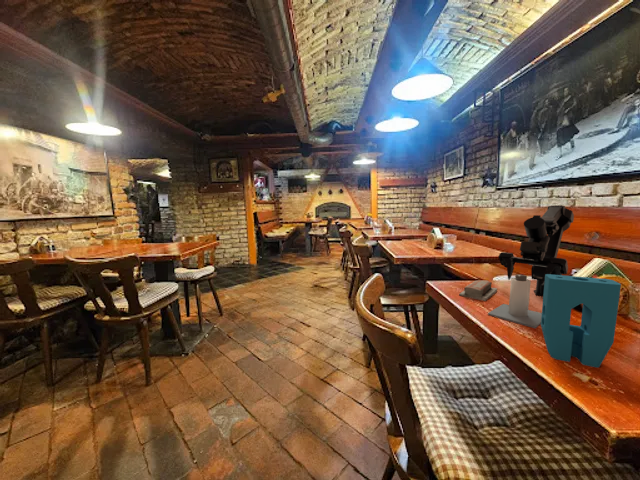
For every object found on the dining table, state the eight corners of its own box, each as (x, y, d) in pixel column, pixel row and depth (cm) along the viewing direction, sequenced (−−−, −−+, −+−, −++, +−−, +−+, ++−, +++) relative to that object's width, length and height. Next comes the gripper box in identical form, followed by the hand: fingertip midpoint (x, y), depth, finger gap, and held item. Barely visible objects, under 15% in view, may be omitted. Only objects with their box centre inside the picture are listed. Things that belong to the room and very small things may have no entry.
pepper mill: (505, 310, 89) (508, 273, 88) (522, 311, 88) (525, 273, 87) (513, 316, 84) (516, 277, 83) (531, 317, 83) (534, 278, 81)
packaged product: (486, 290, 99) (459, 285, 107) (485, 302, 100) (458, 296, 107) (498, 281, 111) (473, 277, 119) (497, 291, 112) (472, 287, 119)
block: (601, 359, 61) (611, 279, 59) (611, 370, 57) (623, 285, 55) (537, 346, 67) (544, 273, 65) (542, 356, 63) (550, 278, 60)
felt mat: (503, 305, 96) (503, 303, 96) (548, 316, 85) (548, 314, 85) (487, 314, 88) (487, 313, 87) (535, 328, 77) (535, 326, 77)
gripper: (501, 231, 96) (488, 263, 91) (569, 234, 81) (558, 273, 76) (507, 249, 102) (495, 280, 97) (572, 255, 87) (561, 293, 82)
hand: (524, 281), depth 88 cm, fingers open, 9 cm apart
